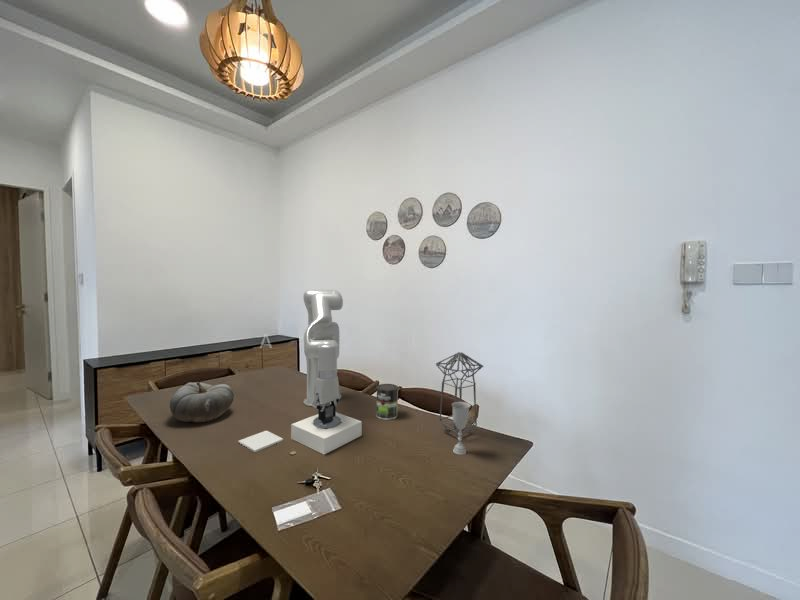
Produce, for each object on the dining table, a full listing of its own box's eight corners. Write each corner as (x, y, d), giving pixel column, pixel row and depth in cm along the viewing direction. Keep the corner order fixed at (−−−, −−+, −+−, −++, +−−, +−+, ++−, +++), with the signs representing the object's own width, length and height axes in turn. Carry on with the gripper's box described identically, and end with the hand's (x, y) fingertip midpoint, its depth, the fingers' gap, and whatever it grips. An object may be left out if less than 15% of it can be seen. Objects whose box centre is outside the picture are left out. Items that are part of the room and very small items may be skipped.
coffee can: (392, 421, 154) (393, 391, 154) (372, 417, 158) (372, 388, 158) (400, 413, 164) (401, 385, 163) (381, 410, 168) (382, 382, 167)
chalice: (457, 457, 124) (458, 409, 123) (446, 449, 130) (447, 403, 129) (472, 453, 127) (474, 406, 126) (461, 445, 133) (463, 400, 132)
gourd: (177, 404, 163) (182, 370, 162) (233, 406, 172) (238, 374, 171) (160, 430, 140) (166, 391, 139) (225, 432, 149) (232, 395, 147)
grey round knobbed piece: (328, 427, 145) (328, 399, 145) (346, 435, 139) (346, 405, 138) (307, 436, 137) (307, 406, 136) (325, 445, 130) (325, 413, 129)
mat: (266, 432, 141) (266, 430, 141) (283, 440, 134) (283, 438, 134) (238, 442, 131) (238, 440, 131) (254, 452, 124) (254, 450, 124)
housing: (329, 422, 152) (329, 409, 151) (361, 435, 140) (361, 421, 139) (291, 438, 136) (291, 424, 135) (324, 454, 124) (324, 438, 123)
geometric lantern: (457, 444, 133) (460, 358, 132) (431, 430, 146) (433, 351, 144) (483, 434, 143) (486, 353, 141) (457, 422, 155) (459, 347, 153)
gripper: (336, 368, 145) (336, 409, 146) (304, 376, 132) (304, 422, 133) (349, 371, 141) (348, 413, 142) (316, 380, 127) (316, 427, 128)
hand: (327, 417), depth 137 cm, fingers closed on grey round knobbed piece, 5 cm apart
